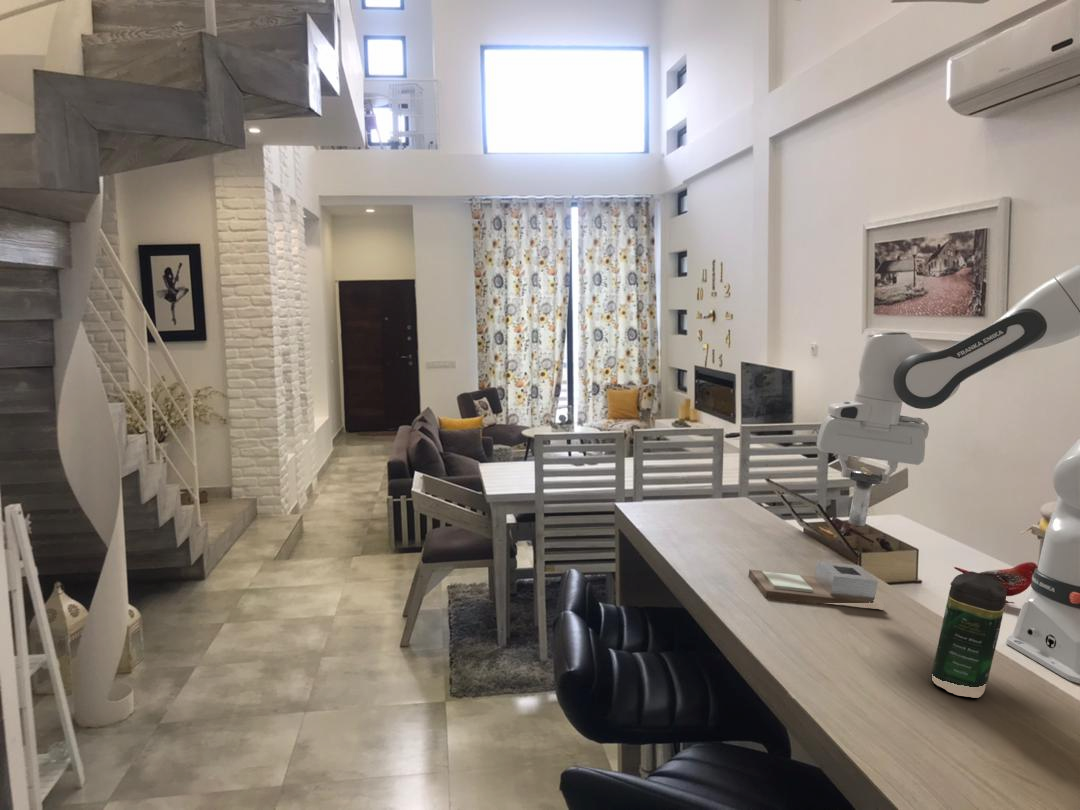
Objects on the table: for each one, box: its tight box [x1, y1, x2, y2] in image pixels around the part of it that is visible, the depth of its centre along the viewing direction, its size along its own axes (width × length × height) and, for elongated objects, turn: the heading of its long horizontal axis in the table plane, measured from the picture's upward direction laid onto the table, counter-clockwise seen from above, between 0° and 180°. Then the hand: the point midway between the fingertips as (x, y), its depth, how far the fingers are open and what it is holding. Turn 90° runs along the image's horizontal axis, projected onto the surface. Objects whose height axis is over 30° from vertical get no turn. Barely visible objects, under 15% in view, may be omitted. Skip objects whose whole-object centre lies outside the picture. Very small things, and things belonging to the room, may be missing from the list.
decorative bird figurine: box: [953, 561, 1038, 605], centre depth 174 cm, size 3×18×10 cm, turn 81°
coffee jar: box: [931, 571, 1007, 687], centre depth 128 cm, size 10×8×19 cm
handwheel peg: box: [848, 466, 882, 527], centre depth 163 cm, size 6×6×11 cm
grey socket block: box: [813, 560, 879, 600], centre depth 165 cm, size 9×9×4 cm
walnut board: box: [748, 569, 874, 604], centre depth 165 cm, size 12×24×2 cm, turn 92°
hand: (864, 479), depth 162 cm, fingers closed on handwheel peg, 6 cm apart
